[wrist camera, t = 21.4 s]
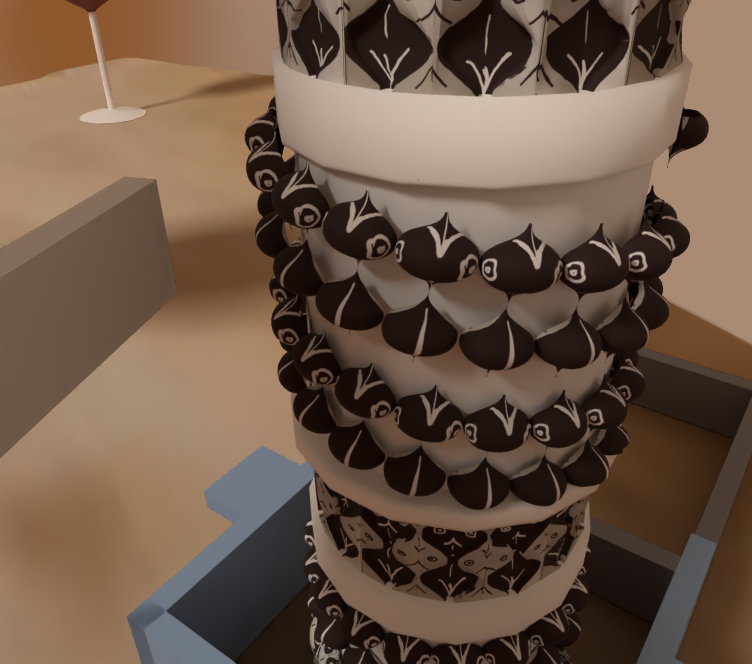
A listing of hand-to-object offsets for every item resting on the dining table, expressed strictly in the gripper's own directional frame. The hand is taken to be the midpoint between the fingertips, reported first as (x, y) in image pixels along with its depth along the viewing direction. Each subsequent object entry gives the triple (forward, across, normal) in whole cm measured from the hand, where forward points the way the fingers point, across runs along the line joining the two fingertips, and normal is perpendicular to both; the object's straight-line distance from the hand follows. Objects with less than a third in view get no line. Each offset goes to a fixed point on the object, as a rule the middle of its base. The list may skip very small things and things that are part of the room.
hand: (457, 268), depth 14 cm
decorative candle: (+2, 0, -17) cm, 17 cm away
